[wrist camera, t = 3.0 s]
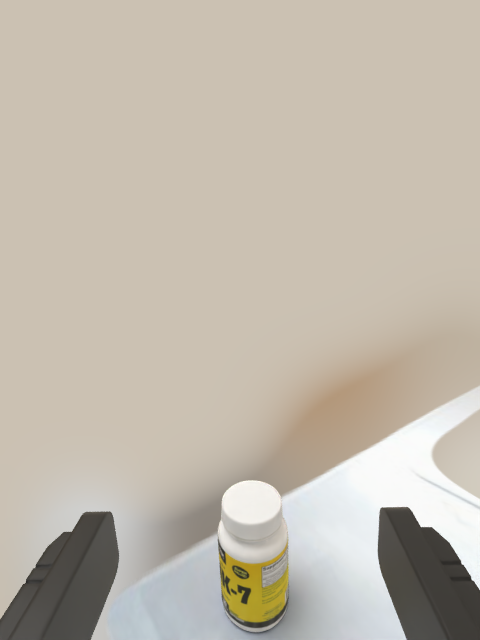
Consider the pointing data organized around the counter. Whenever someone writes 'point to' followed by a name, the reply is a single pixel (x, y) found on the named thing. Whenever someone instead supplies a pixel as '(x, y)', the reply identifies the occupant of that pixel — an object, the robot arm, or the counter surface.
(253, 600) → the supplement bottle
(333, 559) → the counter surface
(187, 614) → the counter surface
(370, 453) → the counter surface
